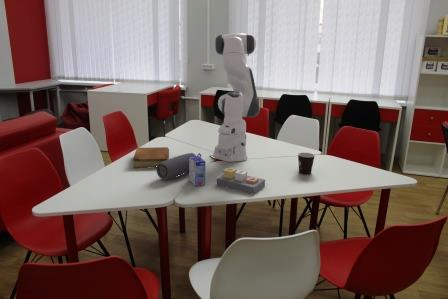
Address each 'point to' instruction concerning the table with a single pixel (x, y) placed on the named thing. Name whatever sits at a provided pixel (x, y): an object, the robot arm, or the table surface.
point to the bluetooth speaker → (174, 166)
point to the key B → (241, 175)
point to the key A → (229, 173)
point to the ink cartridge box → (197, 170)
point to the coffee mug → (305, 163)
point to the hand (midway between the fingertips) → (231, 154)
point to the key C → (252, 180)
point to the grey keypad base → (241, 184)
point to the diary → (150, 156)
